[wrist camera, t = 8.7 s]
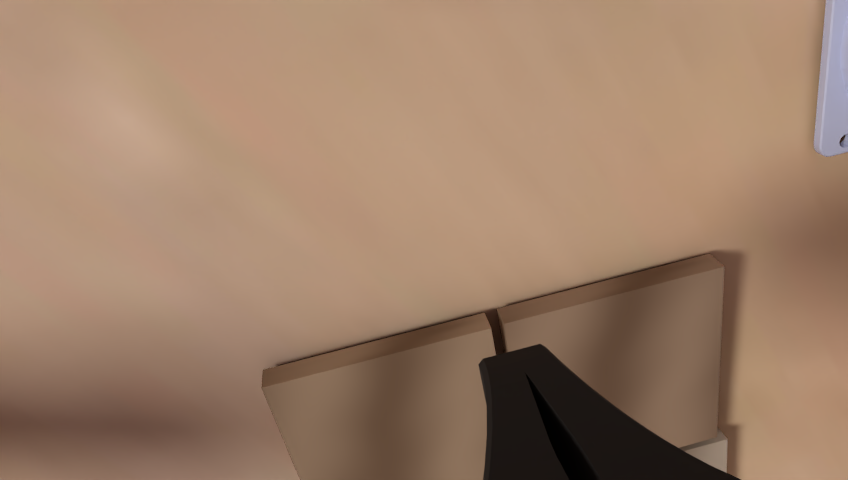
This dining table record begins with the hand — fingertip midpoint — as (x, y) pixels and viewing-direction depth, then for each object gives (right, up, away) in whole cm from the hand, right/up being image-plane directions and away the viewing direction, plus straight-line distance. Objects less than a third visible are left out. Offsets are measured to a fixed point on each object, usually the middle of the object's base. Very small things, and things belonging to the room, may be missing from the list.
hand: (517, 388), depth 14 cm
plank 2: (+6, -2, +14) cm, 15 cm away
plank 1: (-3, -5, +13) cm, 14 cm away
